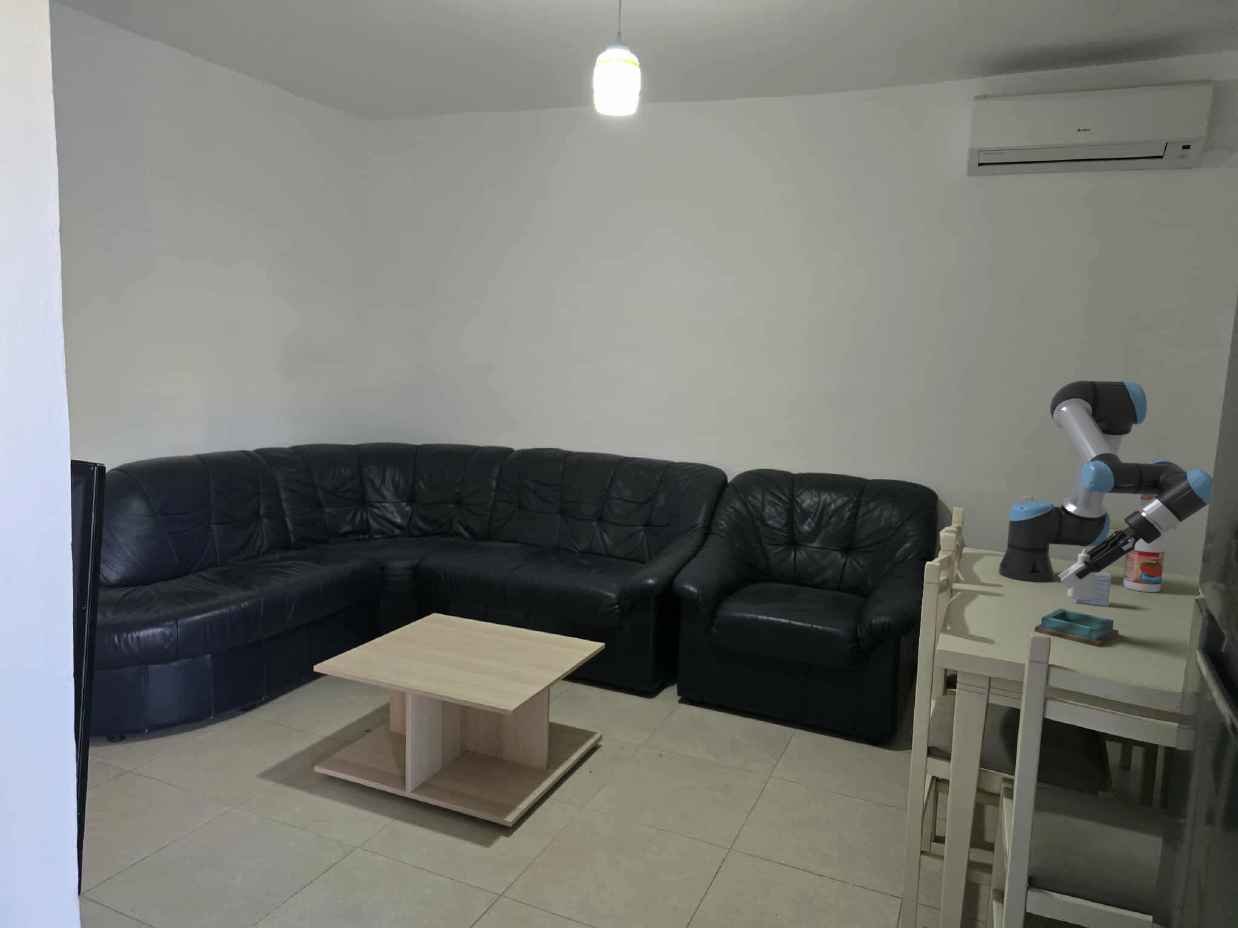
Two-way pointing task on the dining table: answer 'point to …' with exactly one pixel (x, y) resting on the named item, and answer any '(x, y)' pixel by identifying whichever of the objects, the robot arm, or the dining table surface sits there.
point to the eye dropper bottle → (1087, 585)
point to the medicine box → (1099, 590)
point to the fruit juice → (1145, 562)
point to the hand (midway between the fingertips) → (1063, 582)
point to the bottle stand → (1077, 627)
